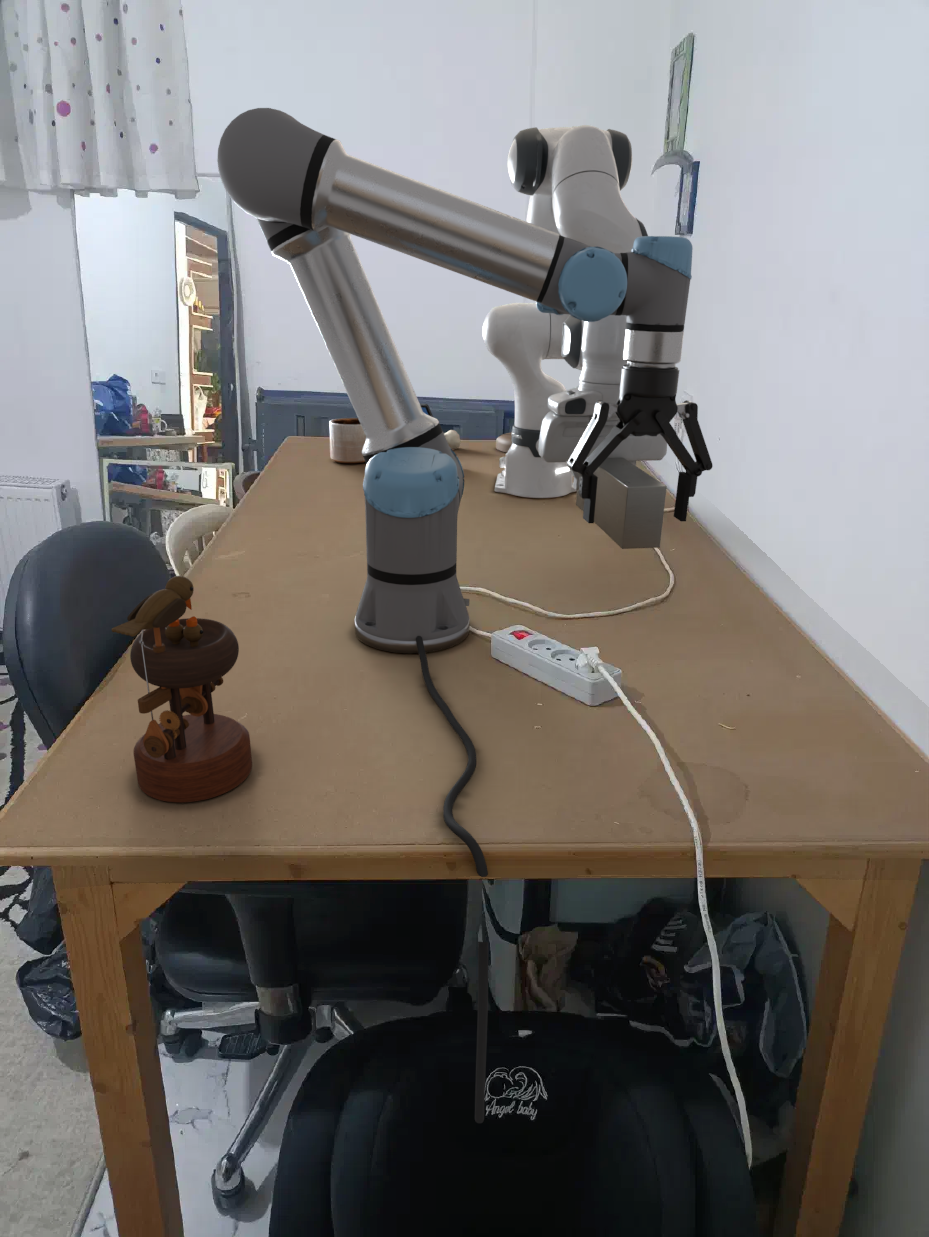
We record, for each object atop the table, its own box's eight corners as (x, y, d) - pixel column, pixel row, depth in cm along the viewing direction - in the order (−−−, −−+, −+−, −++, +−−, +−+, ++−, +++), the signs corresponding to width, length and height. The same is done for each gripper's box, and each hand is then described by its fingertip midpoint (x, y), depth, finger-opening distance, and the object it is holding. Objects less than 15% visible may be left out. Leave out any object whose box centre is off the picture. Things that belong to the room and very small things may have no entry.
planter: (327, 456, 217) (325, 418, 214) (369, 454, 220) (368, 417, 217) (334, 465, 208) (332, 425, 204) (377, 463, 211) (376, 424, 207)
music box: (228, 817, 74) (184, 604, 66) (110, 816, 75) (54, 607, 68) (282, 730, 88) (250, 546, 80) (182, 730, 89) (142, 549, 82)
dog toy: (457, 445, 233) (458, 427, 231) (461, 450, 228) (461, 431, 226) (384, 447, 230) (384, 428, 228) (386, 451, 224) (386, 432, 223)
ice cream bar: (502, 464, 212) (503, 447, 210) (493, 443, 238) (494, 428, 236) (585, 464, 213) (587, 448, 211) (568, 443, 239) (569, 428, 237)
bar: (659, 547, 119) (666, 486, 115) (621, 549, 118) (627, 487, 115) (608, 503, 140) (612, 450, 137) (575, 504, 139) (579, 451, 136)
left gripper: (726, 362, 117) (705, 511, 125) (552, 360, 113) (542, 514, 121) (752, 368, 110) (728, 525, 118) (567, 366, 106) (556, 529, 114)
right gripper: (663, 396, 134) (654, 482, 140) (538, 397, 131) (533, 484, 137) (678, 402, 129) (668, 491, 134) (548, 404, 125) (543, 494, 131)
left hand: (634, 520), depth 120 cm, fingers open, 13 cm apart
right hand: (599, 488), depth 135 cm, fingers closed on bar, 5 cm apart
